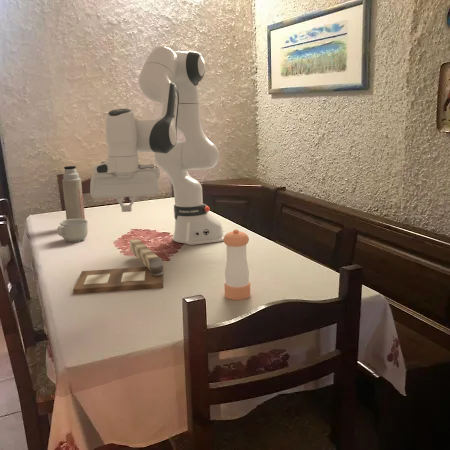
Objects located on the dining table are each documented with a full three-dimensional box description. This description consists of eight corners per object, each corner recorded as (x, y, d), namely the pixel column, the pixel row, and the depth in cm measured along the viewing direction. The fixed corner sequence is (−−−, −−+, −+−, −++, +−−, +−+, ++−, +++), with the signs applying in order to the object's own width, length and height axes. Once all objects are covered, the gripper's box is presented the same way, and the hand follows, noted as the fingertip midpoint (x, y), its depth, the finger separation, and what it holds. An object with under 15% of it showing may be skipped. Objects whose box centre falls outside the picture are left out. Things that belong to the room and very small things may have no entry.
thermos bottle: (88, 225, 221) (82, 165, 214) (80, 230, 214) (73, 167, 207) (73, 225, 223) (66, 165, 216) (64, 229, 215) (56, 167, 208)
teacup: (79, 235, 206) (77, 217, 204) (94, 239, 199) (92, 220, 197) (49, 242, 196) (47, 223, 194) (64, 247, 189) (62, 227, 187)
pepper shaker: (249, 289, 140) (248, 226, 135) (251, 299, 133) (250, 232, 128) (224, 290, 140) (222, 226, 135) (225, 300, 133) (223, 233, 128)
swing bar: (164, 272, 150) (163, 259, 149) (151, 274, 148) (150, 261, 147) (140, 249, 174) (139, 238, 173) (129, 250, 173) (128, 240, 172)
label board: (163, 269, 159) (162, 263, 159) (163, 287, 144) (162, 280, 143) (82, 275, 156) (81, 269, 156) (73, 294, 141) (72, 287, 140)
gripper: (158, 163, 147) (161, 207, 150) (89, 165, 144) (93, 211, 147) (159, 165, 140) (161, 211, 144) (87, 167, 138) (91, 215, 141)
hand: (126, 211), depth 145 cm, fingers closed
